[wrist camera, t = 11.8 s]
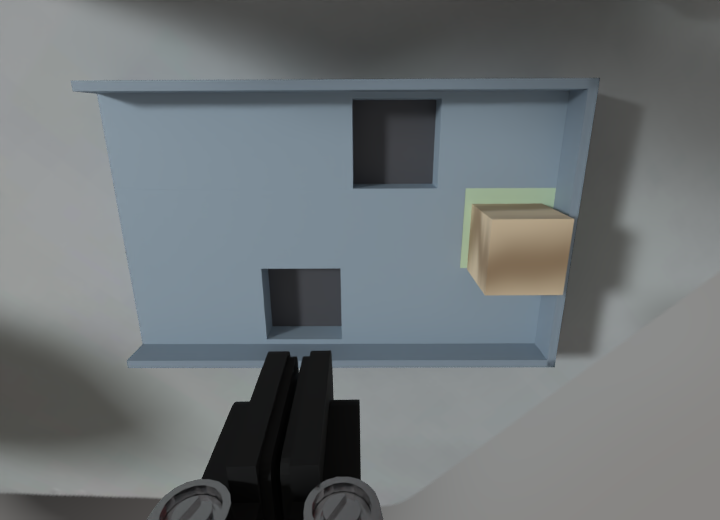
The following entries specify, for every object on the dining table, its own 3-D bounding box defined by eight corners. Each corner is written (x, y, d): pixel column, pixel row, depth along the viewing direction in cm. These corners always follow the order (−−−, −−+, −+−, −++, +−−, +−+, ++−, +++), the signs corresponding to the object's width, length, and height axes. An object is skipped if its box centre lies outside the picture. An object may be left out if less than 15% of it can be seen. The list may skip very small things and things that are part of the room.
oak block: (471, 203, 31) (491, 219, 26) (541, 203, 31) (574, 218, 26) (467, 269, 32) (484, 295, 28) (533, 269, 32) (562, 295, 28)
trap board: (115, 86, 31) (70, 80, 26) (563, 84, 31) (599, 77, 26) (157, 335, 37) (128, 367, 32) (529, 335, 37) (554, 367, 32)
